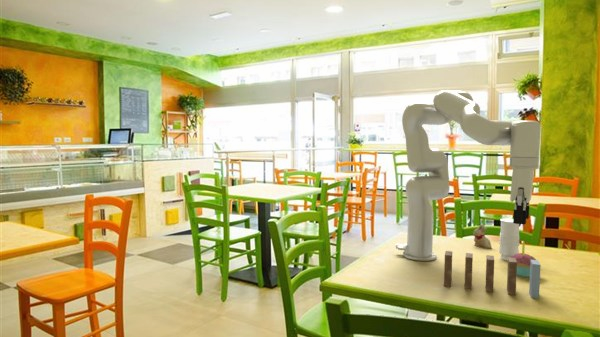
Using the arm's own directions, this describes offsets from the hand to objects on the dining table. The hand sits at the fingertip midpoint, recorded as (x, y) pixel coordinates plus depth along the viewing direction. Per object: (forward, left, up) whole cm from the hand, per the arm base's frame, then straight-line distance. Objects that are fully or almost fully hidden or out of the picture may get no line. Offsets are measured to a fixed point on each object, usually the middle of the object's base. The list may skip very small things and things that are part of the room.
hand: (521, 220), depth 121 cm
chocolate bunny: (-9, +55, -22) cm, 60 cm away
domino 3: (-8, 0, -22) cm, 23 cm away
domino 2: (-14, 0, -22) cm, 26 cm away
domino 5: (+4, 0, -22) cm, 22 cm away
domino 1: (-20, 0, -22) cm, 30 cm away
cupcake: (+3, +20, -22) cm, 30 cm away
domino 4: (-2, 0, -22) cm, 22 cm away
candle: (0, +39, -22) cm, 45 cm away
